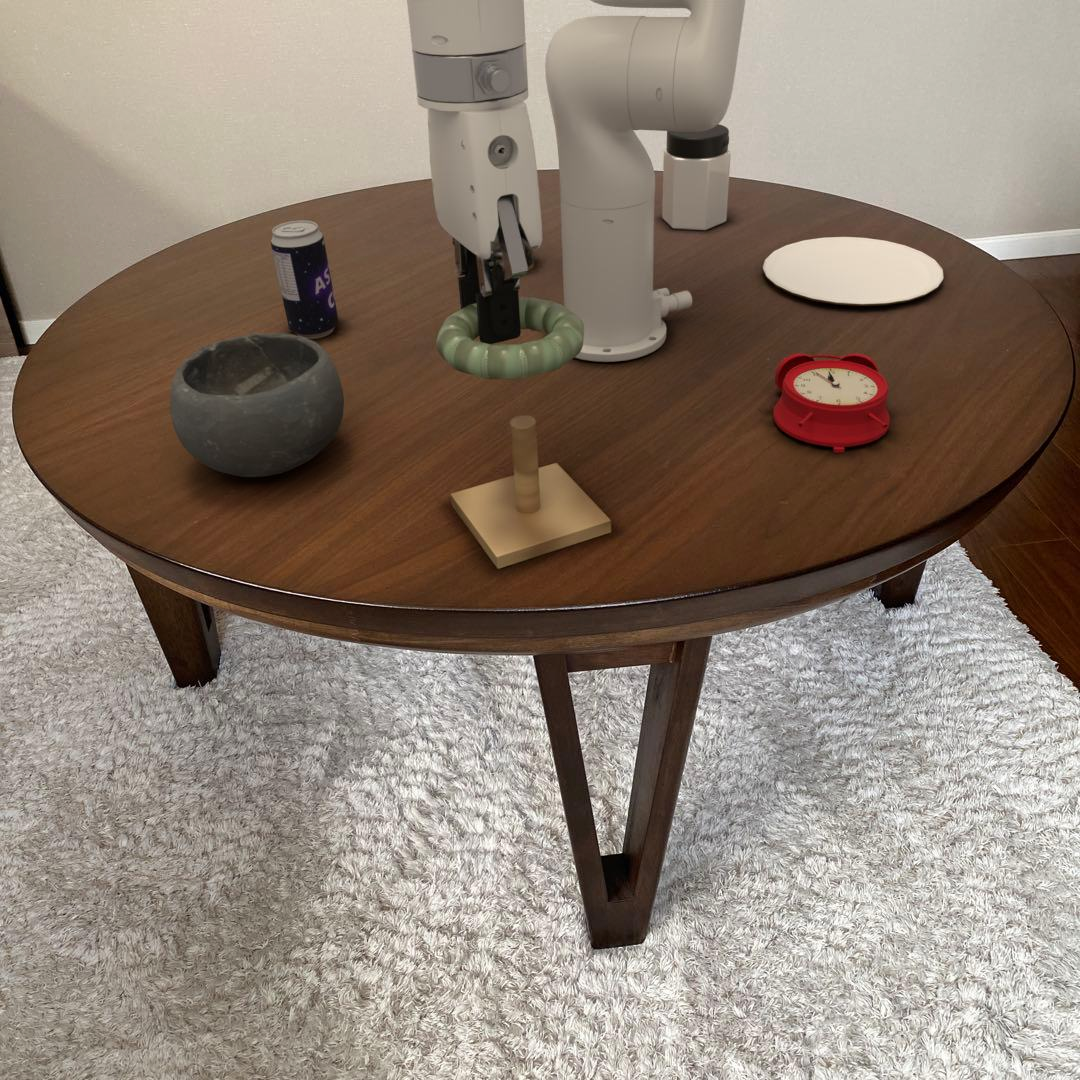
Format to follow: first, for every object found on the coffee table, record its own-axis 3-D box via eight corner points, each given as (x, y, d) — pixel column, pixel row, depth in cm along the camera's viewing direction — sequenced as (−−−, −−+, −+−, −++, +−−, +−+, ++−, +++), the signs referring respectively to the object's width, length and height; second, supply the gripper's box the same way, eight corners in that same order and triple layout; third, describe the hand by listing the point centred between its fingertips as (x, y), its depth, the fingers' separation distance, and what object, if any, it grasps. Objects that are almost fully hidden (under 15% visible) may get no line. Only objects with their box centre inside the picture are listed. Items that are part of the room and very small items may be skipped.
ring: (544, 311, 80) (542, 282, 79) (610, 362, 72) (610, 331, 71) (418, 341, 77) (414, 311, 75) (473, 398, 69) (470, 366, 67)
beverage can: (329, 342, 112) (309, 237, 105) (282, 340, 113) (259, 236, 106) (347, 321, 117) (329, 219, 110) (301, 319, 118) (281, 218, 111)
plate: (981, 290, 115) (983, 280, 114) (827, 326, 109) (829, 315, 109) (869, 235, 131) (870, 225, 130) (730, 263, 125) (730, 254, 125)
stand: (557, 473, 88) (552, 380, 83) (611, 532, 81) (610, 433, 75) (451, 505, 85) (439, 410, 79) (497, 569, 78) (488, 469, 72)
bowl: (159, 464, 93) (127, 367, 87) (295, 405, 101) (275, 312, 95) (243, 527, 84) (214, 423, 78) (385, 456, 92) (368, 357, 86)
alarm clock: (783, 420, 86) (772, 314, 96) (775, 471, 91) (765, 365, 101) (907, 421, 85) (884, 313, 95) (893, 473, 90) (871, 365, 100)
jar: (734, 227, 136) (740, 135, 129) (676, 234, 134) (680, 142, 127) (710, 207, 143) (715, 118, 136) (655, 214, 142) (657, 125, 134)
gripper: (575, 90, 62) (581, 361, 73) (477, 50, 74) (495, 287, 85) (463, 107, 60) (486, 385, 70) (381, 63, 72) (411, 305, 83)
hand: (491, 329), depth 78 cm, fingers closed on ring, 2 cm apart
